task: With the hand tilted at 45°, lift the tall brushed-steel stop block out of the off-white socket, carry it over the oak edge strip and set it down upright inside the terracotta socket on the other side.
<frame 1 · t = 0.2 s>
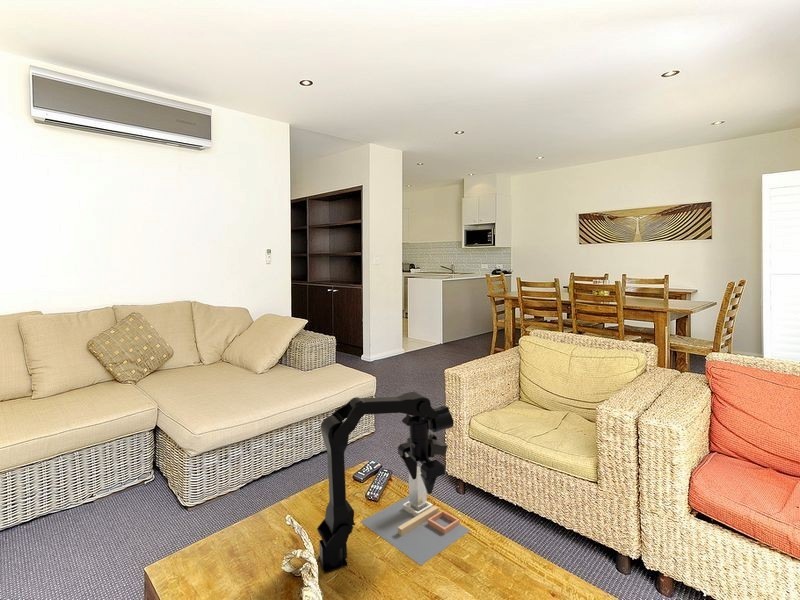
hand: (421, 486, 129), 14 cm above the table, tool pointing down, fingers open, 9 cm apart
socket b: (443, 524, 132), resting on door board
socket a: (417, 508, 140), resting on door board
door board: (414, 530, 131), on the table
smartphone: (360, 508, 144), on the table
stop block: (417, 489, 139), in the socket a, point 8 cm above the table, touching door board
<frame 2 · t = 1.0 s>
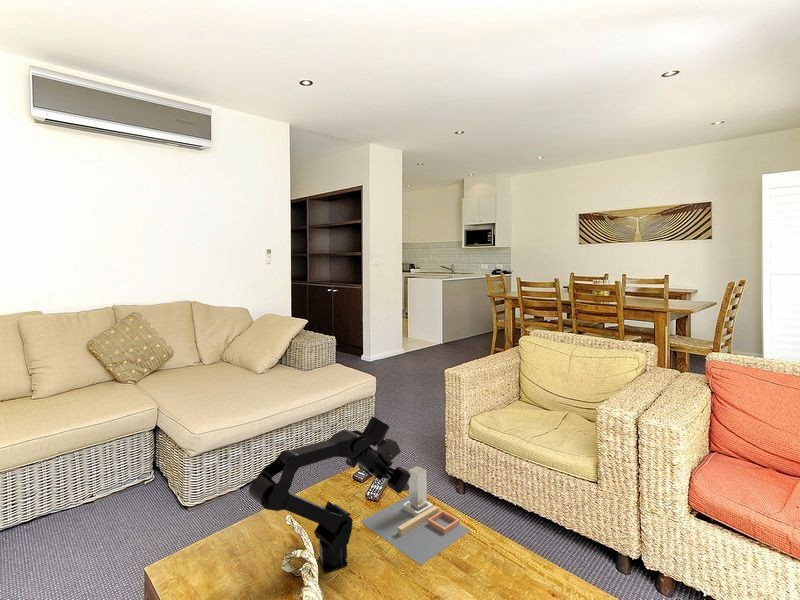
hand: (398, 482, 133), 13 cm above the table, tool tilted 45°, fingers open, 9 cm apart
nothing on the table moved.
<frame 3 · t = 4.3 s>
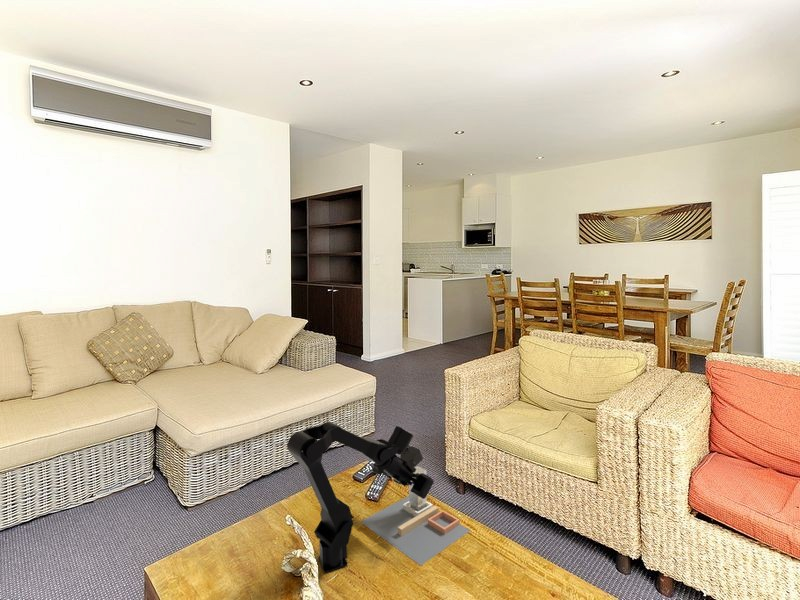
hand: (420, 487, 140), 8 cm above the table, tool tilted 45°, fingers closed on stop block, 4 cm apart
stop block: (417, 489, 139), in the socket a, point 8 cm above the table, touching door board, gripper
everything else where it was.
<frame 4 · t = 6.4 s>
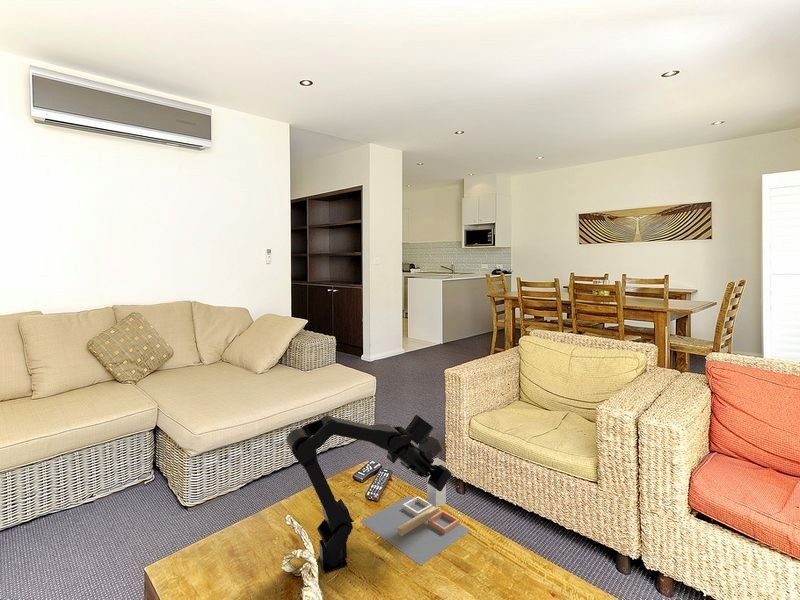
hand: (440, 480, 134), 13 cm above the table, tool tilted 45°, fingers closed on stop block, 4 cm apart
stop block: (436, 482, 133), point 13 cm above the table, touching gripper
everything else where it was.
when the fingers open (9 cm above the table, at t = 8.6 s): stop block stays where it is, resting on door board.
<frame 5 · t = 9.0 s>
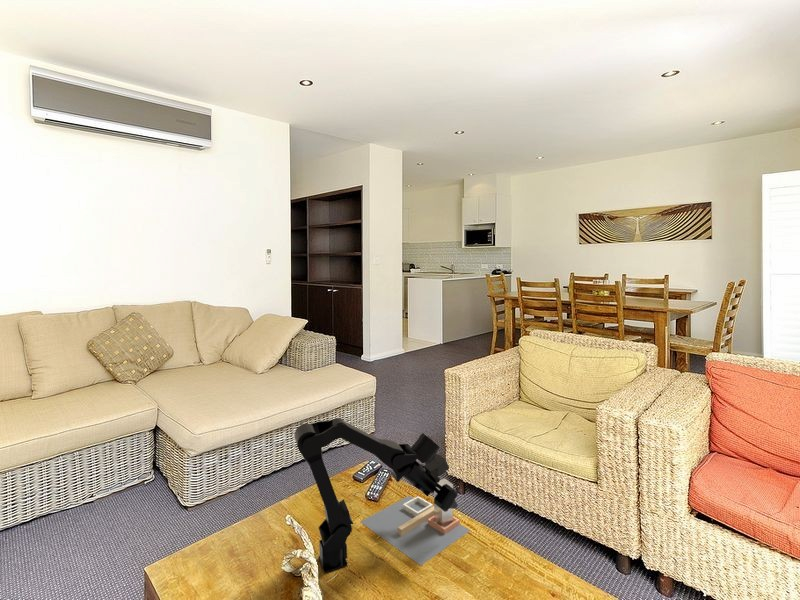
hand: (447, 499, 131), 9 cm above the table, tool tilted 45°, fingers open, 9 cm apart
stop block: (443, 503, 131), in the socket b, point 8 cm above the table, touching door board
everything else where it was.
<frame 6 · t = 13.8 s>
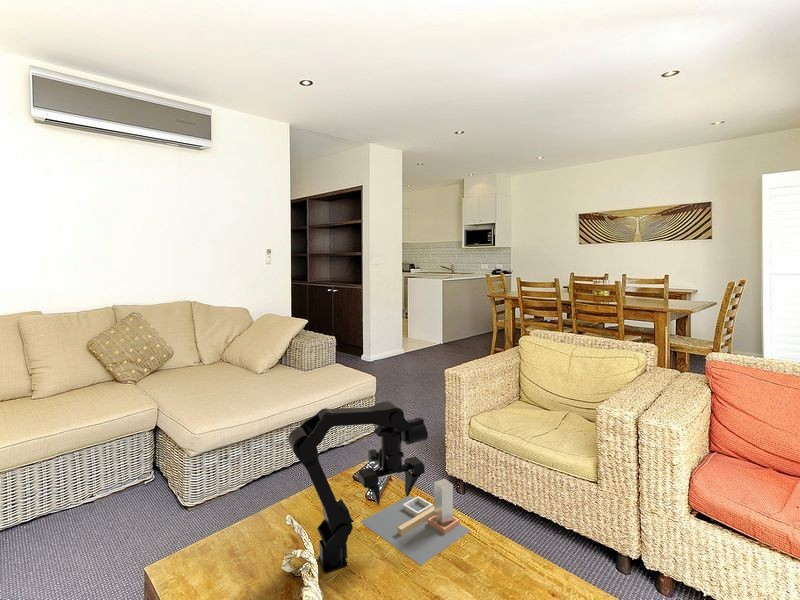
hand: (392, 499, 124), 13 cm above the table, tool pointing down, fingers open, 9 cm apart
nothing on the table moved.
at the end: stop block 0.0 cm from the socket b (horizontally); stop block tilted 0°; stop block point 8.0 cm above the table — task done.
